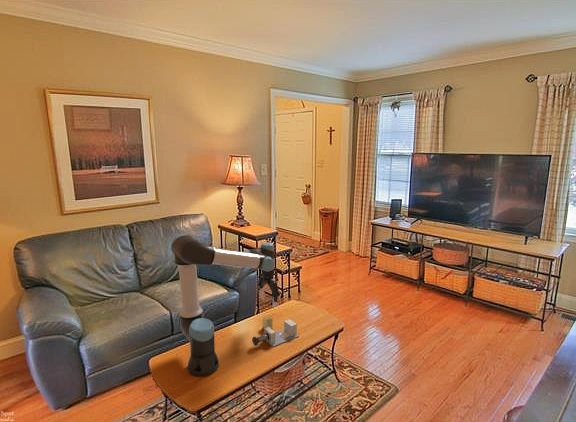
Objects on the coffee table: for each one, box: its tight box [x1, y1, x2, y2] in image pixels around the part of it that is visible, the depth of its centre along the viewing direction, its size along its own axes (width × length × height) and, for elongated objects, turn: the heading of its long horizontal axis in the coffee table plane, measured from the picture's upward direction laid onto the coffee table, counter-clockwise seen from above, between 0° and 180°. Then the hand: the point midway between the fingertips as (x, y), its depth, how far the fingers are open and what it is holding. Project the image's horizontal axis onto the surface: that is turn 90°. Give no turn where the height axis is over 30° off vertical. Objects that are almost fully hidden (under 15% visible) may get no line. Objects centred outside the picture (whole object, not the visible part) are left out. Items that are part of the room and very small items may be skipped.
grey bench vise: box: [263, 319, 299, 348], centre depth 196 cm, size 18×11×7 cm, turn 126°
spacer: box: [262, 314, 273, 330], centre depth 206 cm, size 4×4×7 cm
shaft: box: [251, 333, 269, 347], centre depth 189 cm, size 12×5×5 cm, turn 126°
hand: (268, 302), depth 204 cm, fingers open, 13 cm apart
